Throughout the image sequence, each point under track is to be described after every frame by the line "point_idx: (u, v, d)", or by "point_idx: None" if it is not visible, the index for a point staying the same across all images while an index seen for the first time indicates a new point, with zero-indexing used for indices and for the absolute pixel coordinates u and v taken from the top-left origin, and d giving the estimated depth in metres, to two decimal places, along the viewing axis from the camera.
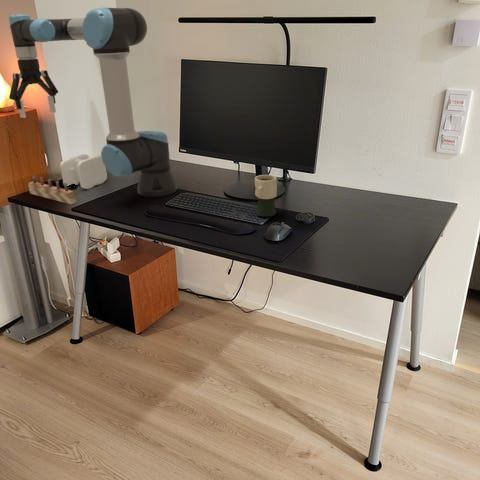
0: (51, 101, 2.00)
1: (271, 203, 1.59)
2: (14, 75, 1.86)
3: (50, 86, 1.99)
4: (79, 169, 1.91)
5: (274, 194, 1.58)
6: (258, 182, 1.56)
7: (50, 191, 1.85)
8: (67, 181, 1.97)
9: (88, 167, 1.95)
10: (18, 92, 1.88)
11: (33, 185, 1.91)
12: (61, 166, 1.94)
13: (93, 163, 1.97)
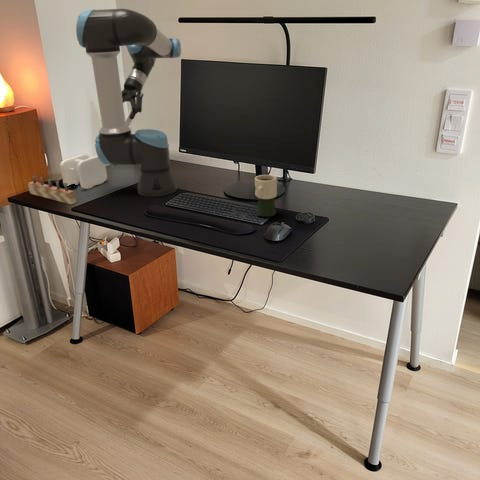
0: None
1: (271, 203, 1.59)
2: None
3: None
4: (79, 169, 1.91)
5: (274, 194, 1.58)
6: (258, 182, 1.56)
7: (50, 191, 1.85)
8: (67, 181, 1.97)
9: (88, 167, 1.95)
10: None
11: (33, 185, 1.91)
12: (61, 166, 1.94)
13: (93, 163, 1.97)
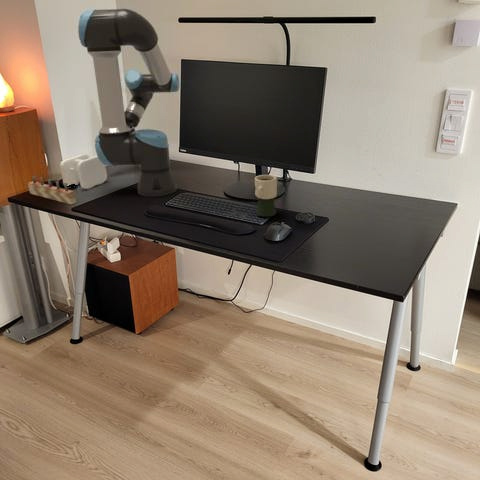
0: None
1: (271, 203, 1.59)
2: None
3: None
4: (79, 169, 1.91)
5: (274, 194, 1.58)
6: (258, 182, 1.56)
7: (50, 191, 1.85)
8: (67, 181, 1.97)
9: (88, 167, 1.95)
10: None
11: (33, 185, 1.91)
12: (61, 166, 1.94)
13: (93, 163, 1.97)
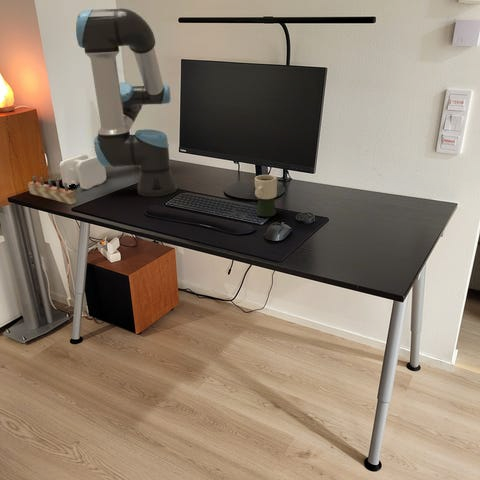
0: None
1: (271, 203, 1.59)
2: None
3: None
4: (78, 169, 1.91)
5: (274, 194, 1.58)
6: (258, 182, 1.56)
7: (50, 191, 1.85)
8: (66, 181, 1.96)
9: (87, 167, 1.94)
10: None
11: (33, 185, 1.91)
12: (60, 166, 1.94)
13: (92, 163, 1.96)
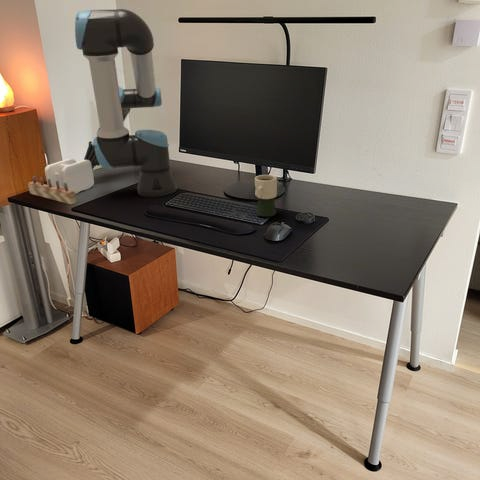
0: None
1: (271, 203, 1.59)
2: None
3: None
4: (64, 174, 1.85)
5: (274, 194, 1.58)
6: (258, 182, 1.56)
7: (50, 191, 1.85)
8: None
9: (73, 172, 1.88)
10: None
11: (33, 185, 1.91)
12: (46, 171, 1.88)
13: (79, 168, 1.90)
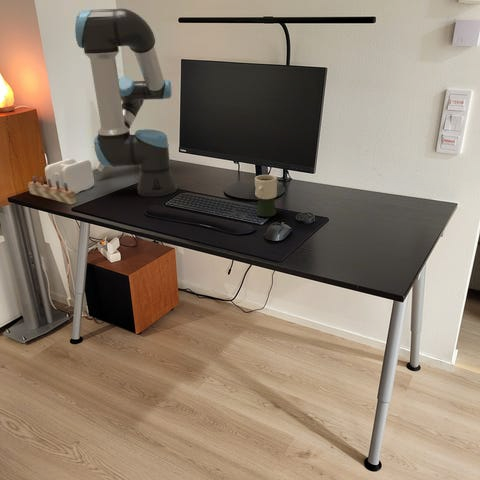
0: None
1: (271, 203, 1.59)
2: None
3: None
4: (64, 174, 1.85)
5: (274, 194, 1.58)
6: (258, 182, 1.56)
7: (50, 191, 1.85)
8: None
9: (73, 172, 1.88)
10: None
11: (33, 185, 1.91)
12: (46, 171, 1.88)
13: (79, 168, 1.90)
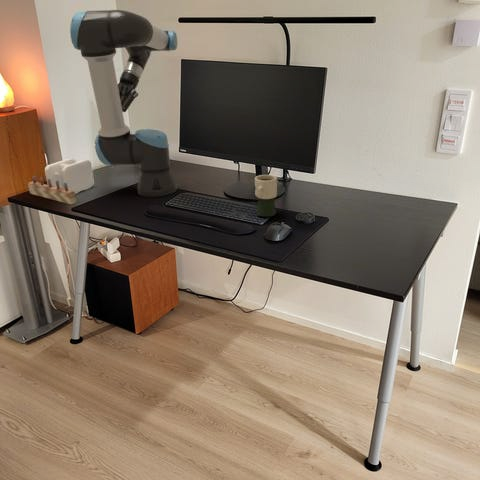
0: None
1: (271, 203, 1.59)
2: None
3: None
4: (64, 174, 1.85)
5: (274, 194, 1.58)
6: (258, 182, 1.56)
7: (50, 191, 1.85)
8: None
9: (73, 172, 1.88)
10: None
11: (33, 185, 1.91)
12: (46, 171, 1.88)
13: (79, 168, 1.90)
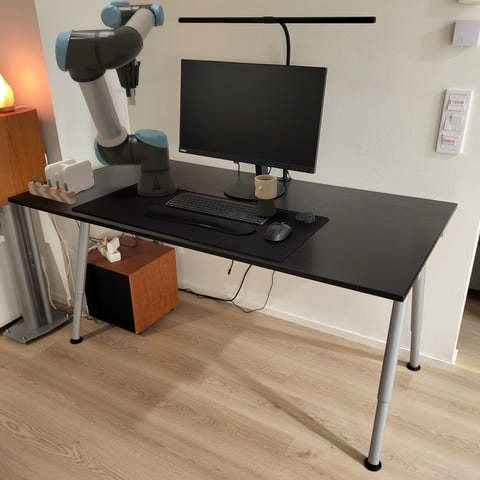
0: None
1: (271, 203, 1.59)
2: None
3: (134, 77, 2.02)
4: (64, 174, 1.85)
5: (274, 194, 1.58)
6: (258, 182, 1.56)
7: (50, 191, 1.85)
8: None
9: (73, 172, 1.88)
10: None
11: (33, 185, 1.91)
12: (46, 171, 1.88)
13: (79, 168, 1.90)
